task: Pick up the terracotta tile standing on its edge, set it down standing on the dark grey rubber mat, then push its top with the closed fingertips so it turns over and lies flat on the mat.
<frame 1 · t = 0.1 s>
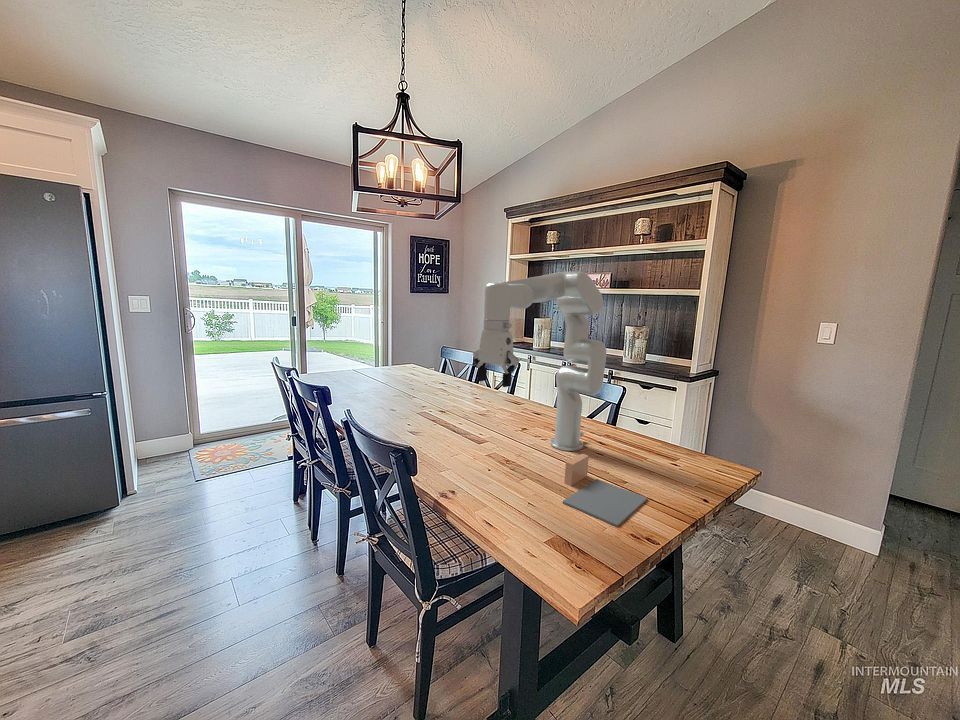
hand: (494, 383, 117), 31 cm above the table, fingers open, 9 cm apart
terracotta tile: (575, 479, 125), on the table
rubber mat: (605, 501, 112), on the table
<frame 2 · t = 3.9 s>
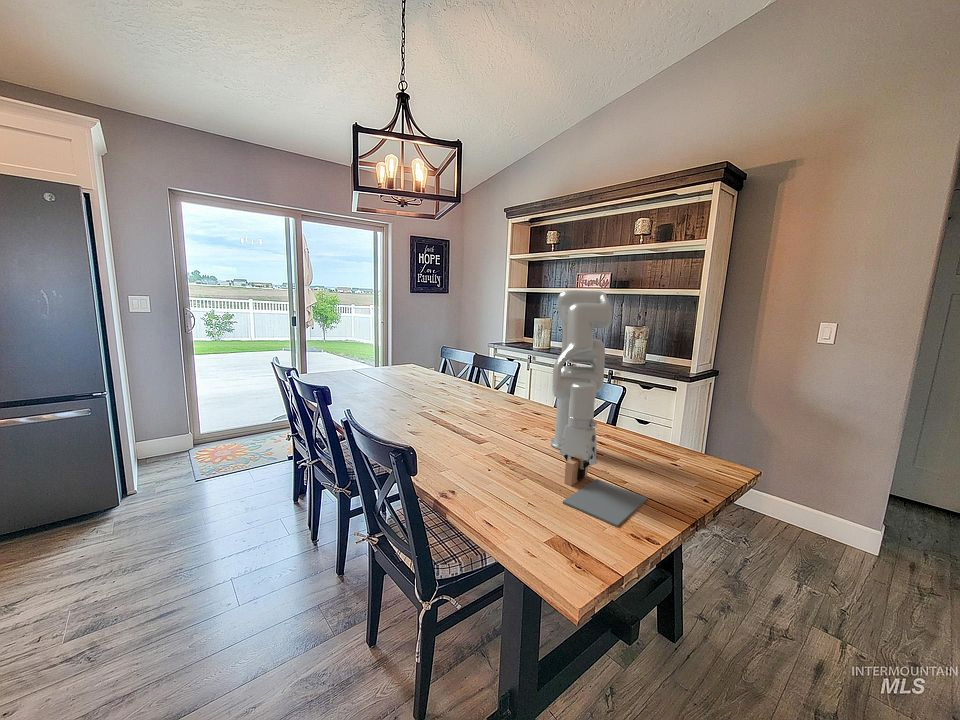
hand: (576, 477, 125), 1 cm above the table, fingers closed on terracotta tile, 2 cm apart
terracotta tile: (576, 479, 125), on the table, touching gripper
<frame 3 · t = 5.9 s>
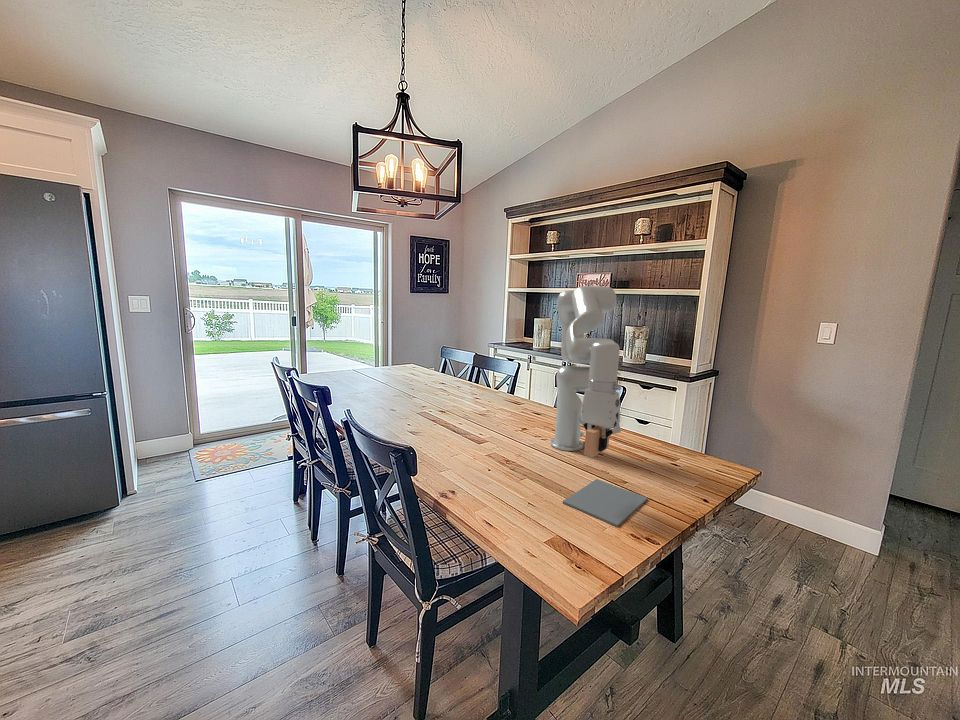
hand: (596, 448, 112), 15 cm above the table, fingers closed on terracotta tile, 2 cm apart
terracotta tile: (596, 451, 112), point 14 cm above the table, touching gripper
when the fingers open (2 cm above the table, at t = 8.3 s): terracotta tile stays where it is, resting on rubber mat.
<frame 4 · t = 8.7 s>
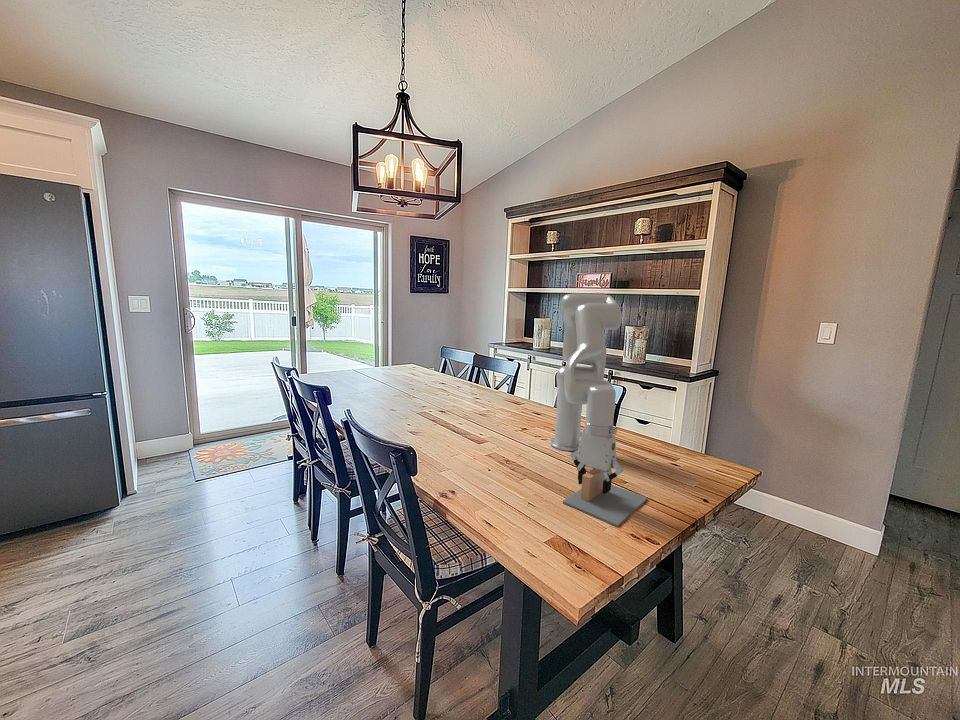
hand: (593, 487, 114), 3 cm above the table, fingers open, 7 cm apart
terracotta tile: (592, 494, 114), point 1 cm above the table, touching rubber mat
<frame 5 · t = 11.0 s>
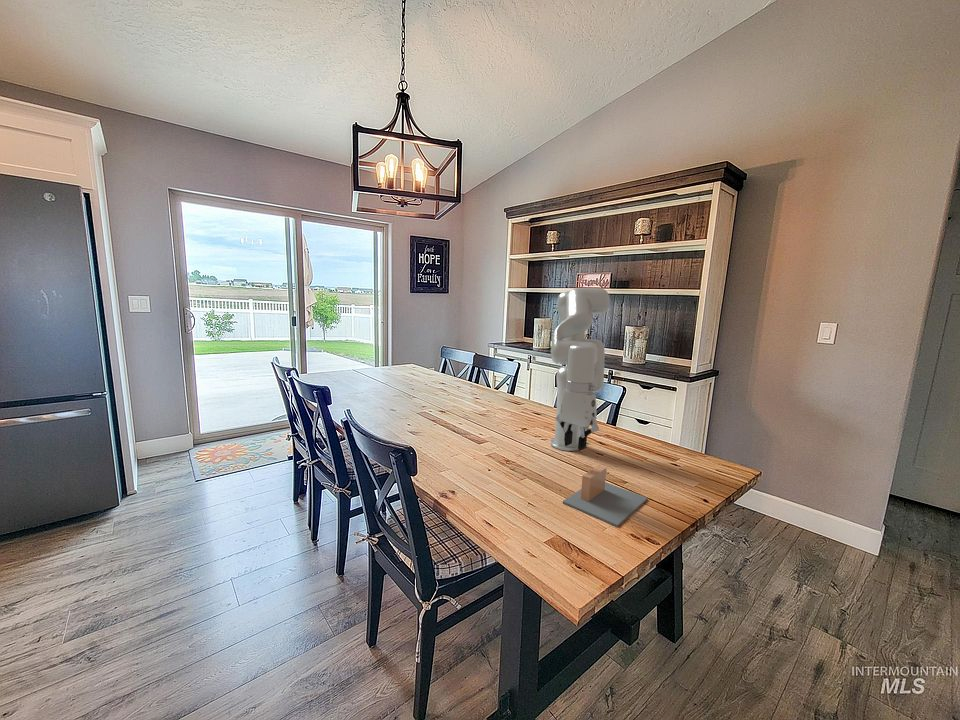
hand: (574, 446, 117), 13 cm above the table, fingers open, 3 cm apart
nothing on the table moved.
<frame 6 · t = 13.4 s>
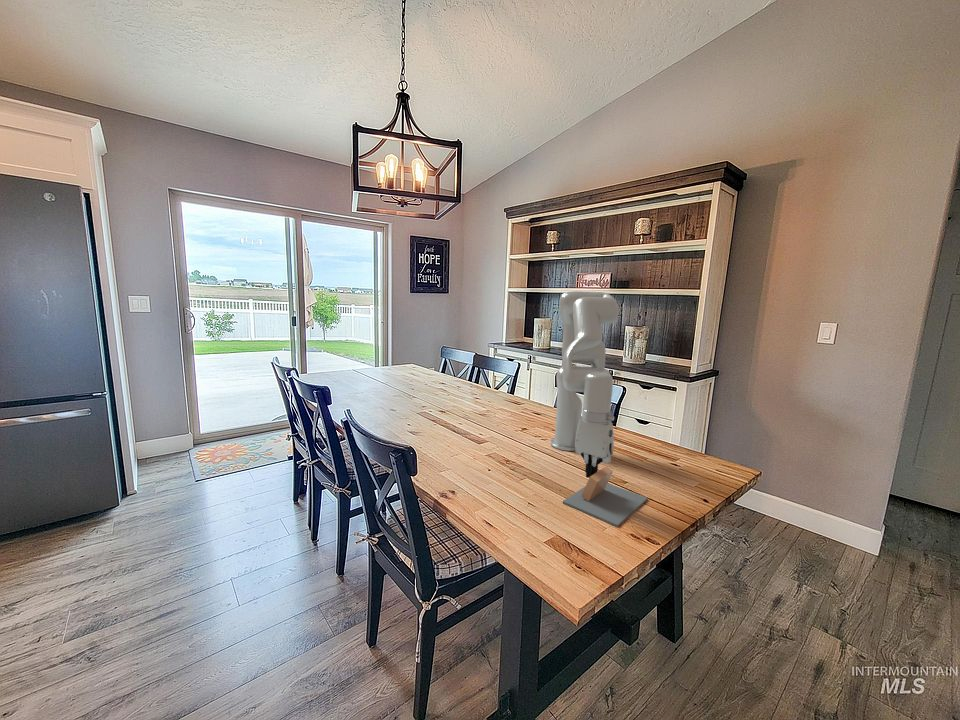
hand: (590, 476, 114), 6 cm above the table, fingers closed
terracotta tile: (593, 492, 114), point 1 cm above the table, tilted 18°, touching rubber mat
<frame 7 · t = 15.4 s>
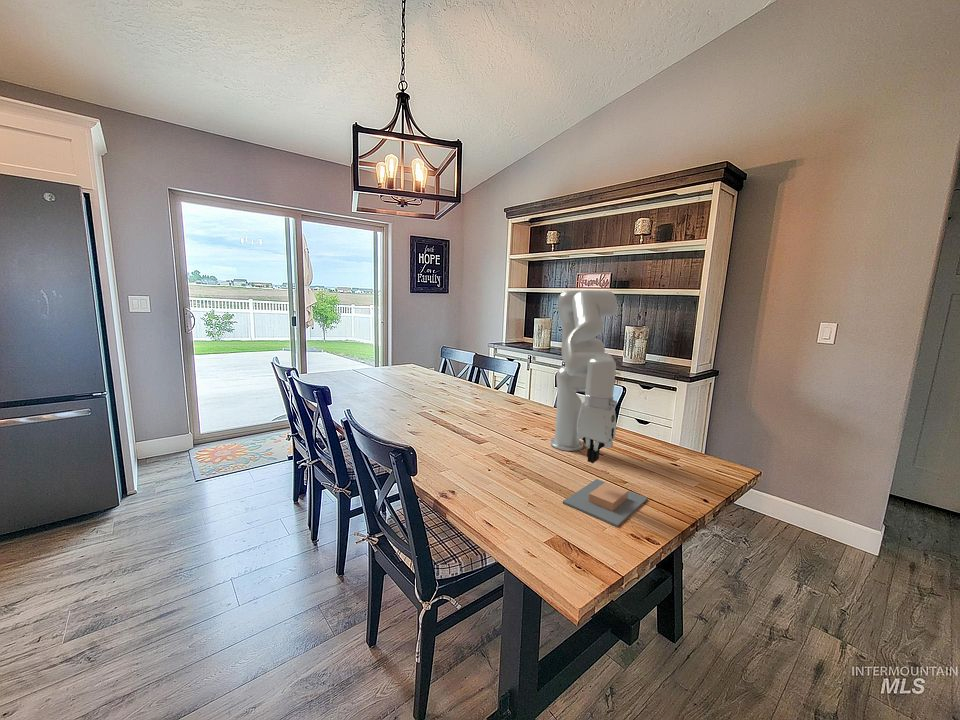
hand: (592, 460, 114), 10 cm above the table, fingers closed
terracotta tile: (597, 491, 113), point 2 cm above the table, tilted 90°, touching rubber mat
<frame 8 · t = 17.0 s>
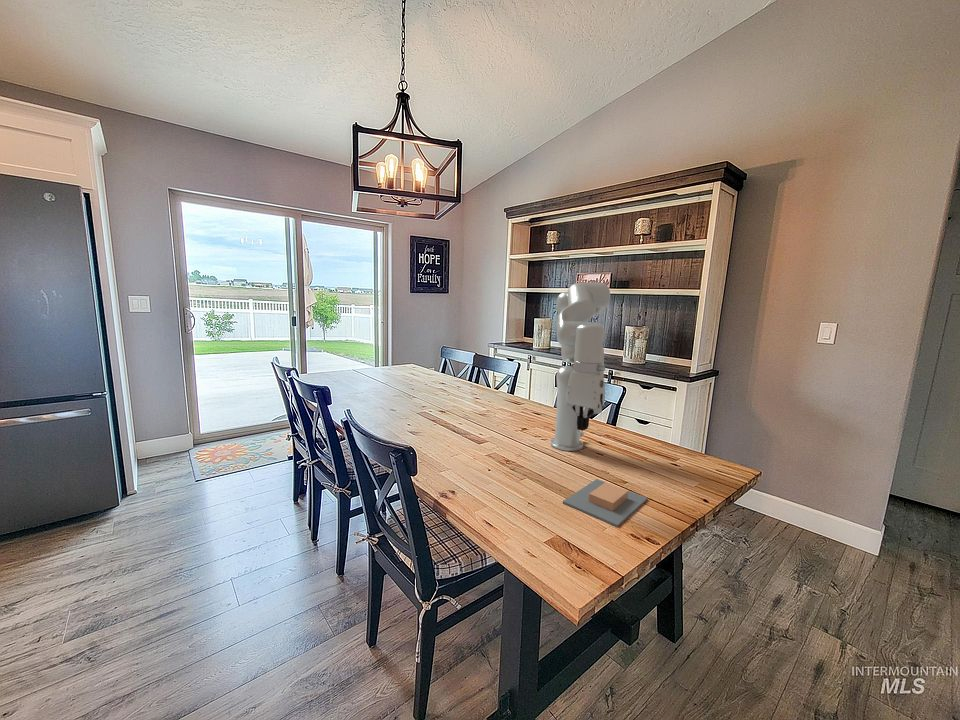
hand: (582, 429, 115), 19 cm above the table, fingers closed
nothing on the table moved.
at the end: terracotta tile tilted 90°; terracotta tile inside the target area on the rubber mat (2.9 cm from its centre), point 1.8 cm above the rubber mat's base; the gripper is holding nothing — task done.
